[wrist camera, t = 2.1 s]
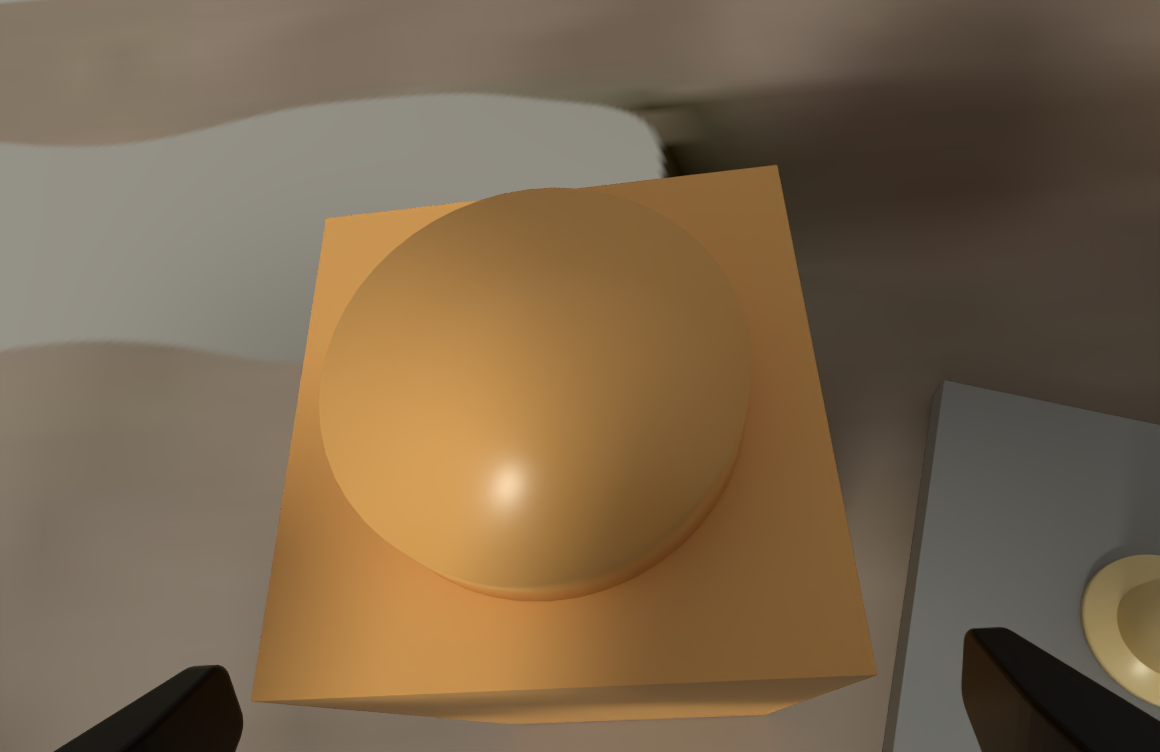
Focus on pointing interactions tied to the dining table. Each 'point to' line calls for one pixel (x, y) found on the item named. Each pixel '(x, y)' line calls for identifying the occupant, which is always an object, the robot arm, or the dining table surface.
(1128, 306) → the dining table surface
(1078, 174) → the dining table surface
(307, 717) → the dining table surface
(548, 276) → the domed orange pillar
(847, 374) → the dining table surface
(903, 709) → the plate
